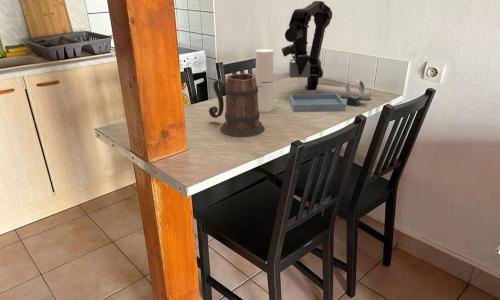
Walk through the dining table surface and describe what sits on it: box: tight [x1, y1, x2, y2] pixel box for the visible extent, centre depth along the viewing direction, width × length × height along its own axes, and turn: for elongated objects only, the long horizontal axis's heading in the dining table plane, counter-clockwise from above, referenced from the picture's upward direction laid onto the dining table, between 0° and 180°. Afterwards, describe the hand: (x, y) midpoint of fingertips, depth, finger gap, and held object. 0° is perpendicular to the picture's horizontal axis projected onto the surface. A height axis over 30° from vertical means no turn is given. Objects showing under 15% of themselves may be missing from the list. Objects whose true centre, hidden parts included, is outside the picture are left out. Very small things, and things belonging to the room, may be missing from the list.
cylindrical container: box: [255, 48, 274, 113], centre depth 156 cm, size 7×7×25 cm
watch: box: [345, 78, 366, 107], centre depth 163 cm, size 6×8×11 cm
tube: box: [315, 83, 372, 101], centre depth 175 cm, size 5×5×25 cm
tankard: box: [208, 73, 266, 138], centre depth 138 cm, size 24×17×20 cm
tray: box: [288, 93, 347, 113], centre depth 164 cm, size 16×22×3 cm
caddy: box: [288, 58, 310, 79], centre depth 172 cm, size 5×9×8 cm, turn 90°
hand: (299, 73), depth 174 cm, fingers closed on caddy, 5 cm apart
